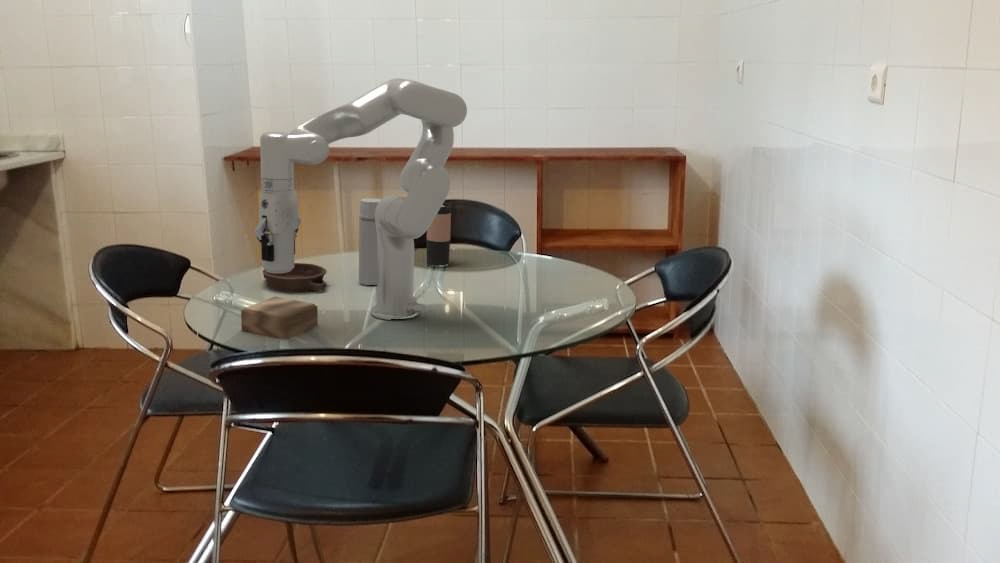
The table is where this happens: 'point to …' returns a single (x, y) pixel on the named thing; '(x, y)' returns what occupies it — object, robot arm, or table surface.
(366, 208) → the water bottle
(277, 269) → the can
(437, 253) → the travel mug
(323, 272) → the dish
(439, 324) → the table surface
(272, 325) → the plinth
